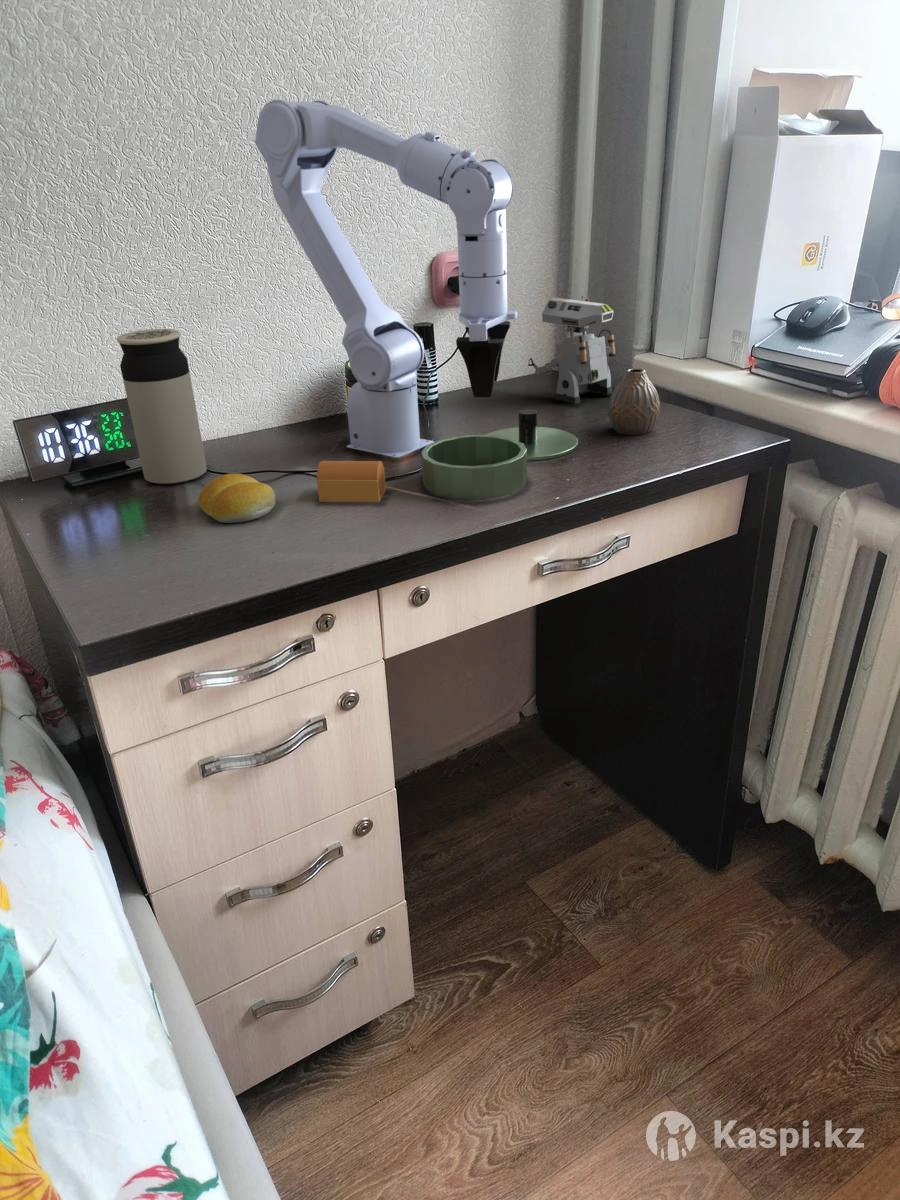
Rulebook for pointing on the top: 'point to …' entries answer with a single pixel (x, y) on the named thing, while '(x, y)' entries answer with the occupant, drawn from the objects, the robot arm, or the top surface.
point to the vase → (634, 404)
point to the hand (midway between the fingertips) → (485, 388)
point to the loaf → (350, 481)
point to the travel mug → (162, 406)
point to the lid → (539, 438)
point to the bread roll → (236, 498)
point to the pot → (474, 467)
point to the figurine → (579, 348)
